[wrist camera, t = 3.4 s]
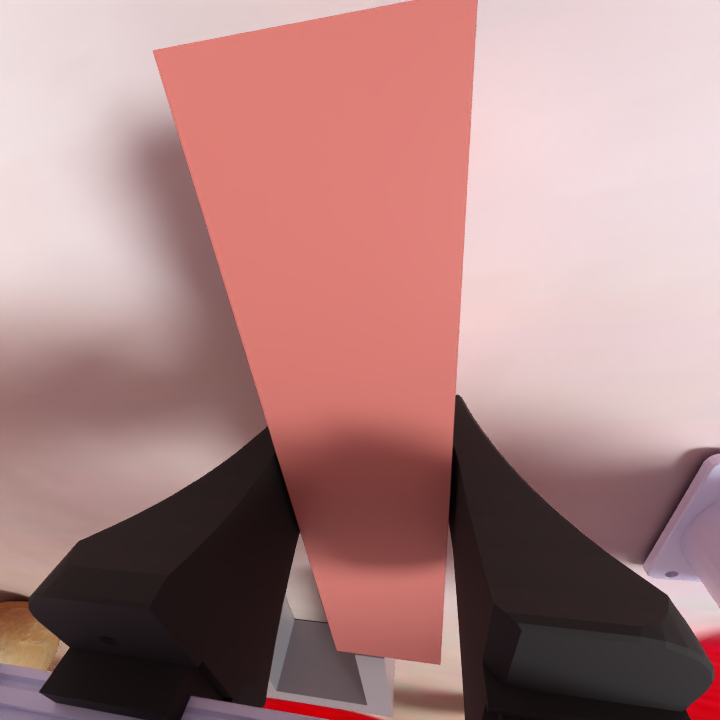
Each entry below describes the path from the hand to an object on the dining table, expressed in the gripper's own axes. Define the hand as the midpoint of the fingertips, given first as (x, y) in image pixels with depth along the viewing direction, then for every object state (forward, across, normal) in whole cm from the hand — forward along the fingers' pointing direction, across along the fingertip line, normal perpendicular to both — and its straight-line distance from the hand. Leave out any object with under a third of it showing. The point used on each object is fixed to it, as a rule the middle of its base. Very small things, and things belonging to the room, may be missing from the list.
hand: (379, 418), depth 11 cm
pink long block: (+2, 0, 0) cm, 2 cm away
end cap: (+2, +5, +18) cm, 19 cm away
